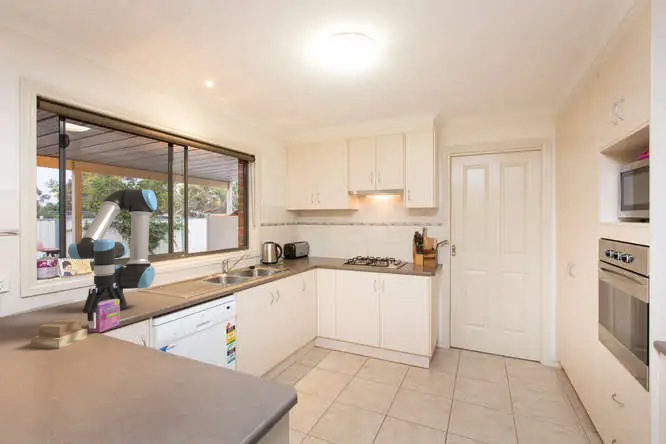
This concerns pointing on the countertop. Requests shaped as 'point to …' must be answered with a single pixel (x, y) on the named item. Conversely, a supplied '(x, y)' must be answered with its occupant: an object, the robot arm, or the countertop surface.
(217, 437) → the countertop surface
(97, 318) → the box
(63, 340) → the tower base
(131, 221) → the robot arm
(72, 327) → the tower top
